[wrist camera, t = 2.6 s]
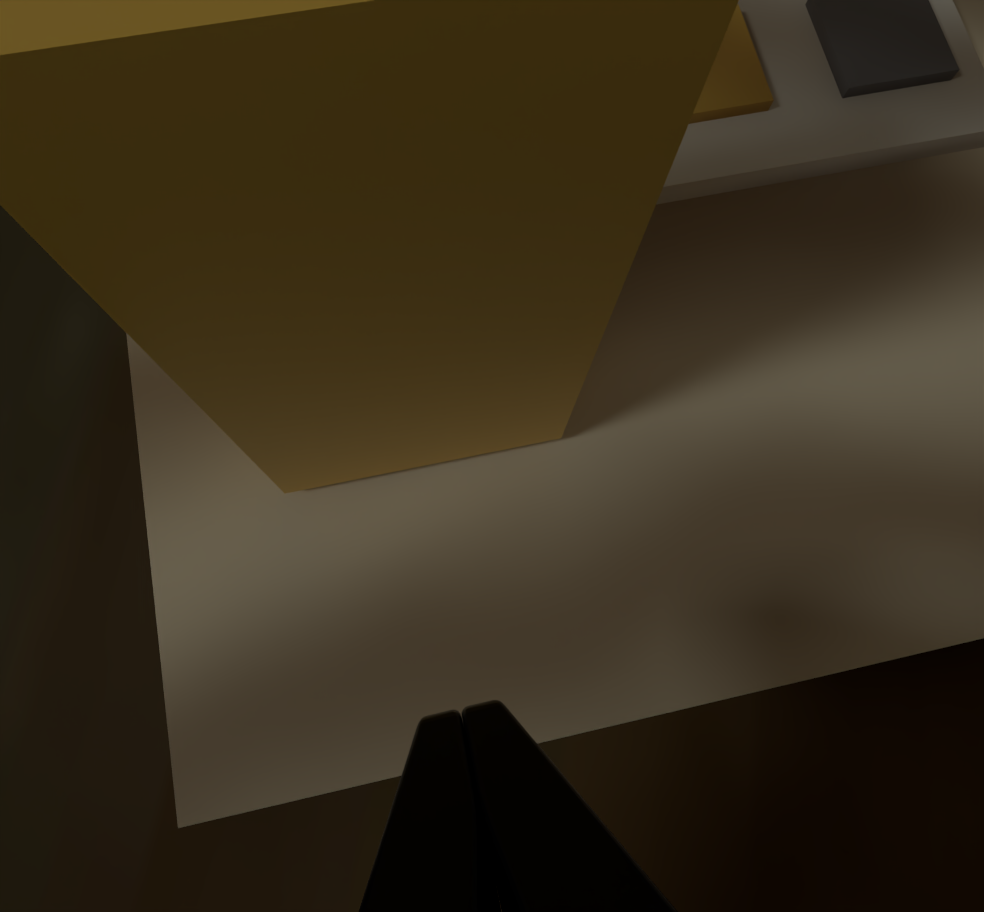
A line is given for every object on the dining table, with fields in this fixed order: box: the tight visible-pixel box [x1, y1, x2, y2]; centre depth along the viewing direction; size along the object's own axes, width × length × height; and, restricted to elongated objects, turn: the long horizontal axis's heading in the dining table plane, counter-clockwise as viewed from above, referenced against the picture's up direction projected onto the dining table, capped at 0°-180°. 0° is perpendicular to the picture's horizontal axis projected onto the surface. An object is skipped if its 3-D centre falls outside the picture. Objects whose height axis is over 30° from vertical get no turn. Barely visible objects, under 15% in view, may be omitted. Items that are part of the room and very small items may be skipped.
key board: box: [127, 0, 984, 828], centre depth 15 cm, size 16×28×4 cm, turn 102°
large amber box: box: [0, 0, 739, 494], centre depth 10 cm, size 4×5×10 cm
